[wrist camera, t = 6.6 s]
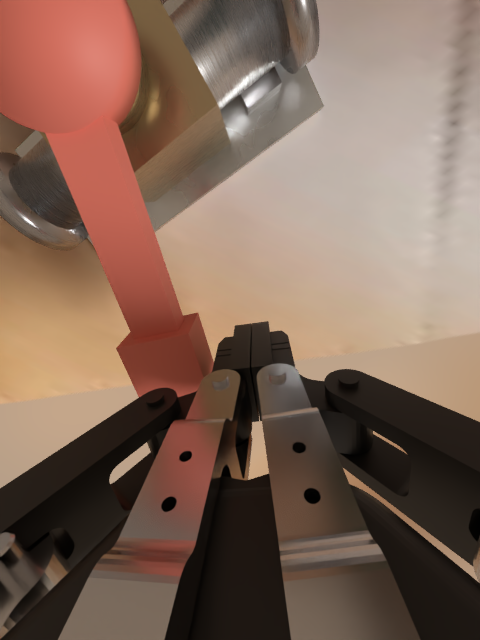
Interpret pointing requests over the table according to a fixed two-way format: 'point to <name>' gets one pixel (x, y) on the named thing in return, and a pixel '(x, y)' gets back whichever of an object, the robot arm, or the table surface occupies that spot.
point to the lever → (101, 167)
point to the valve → (184, 110)
